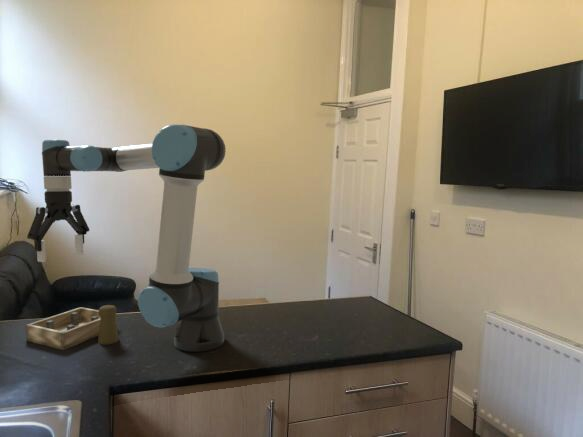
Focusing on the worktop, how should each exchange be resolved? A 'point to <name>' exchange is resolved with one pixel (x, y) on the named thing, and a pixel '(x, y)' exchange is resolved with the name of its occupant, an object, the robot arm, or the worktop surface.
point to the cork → (108, 325)
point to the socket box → (65, 328)
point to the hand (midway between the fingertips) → (61, 257)
